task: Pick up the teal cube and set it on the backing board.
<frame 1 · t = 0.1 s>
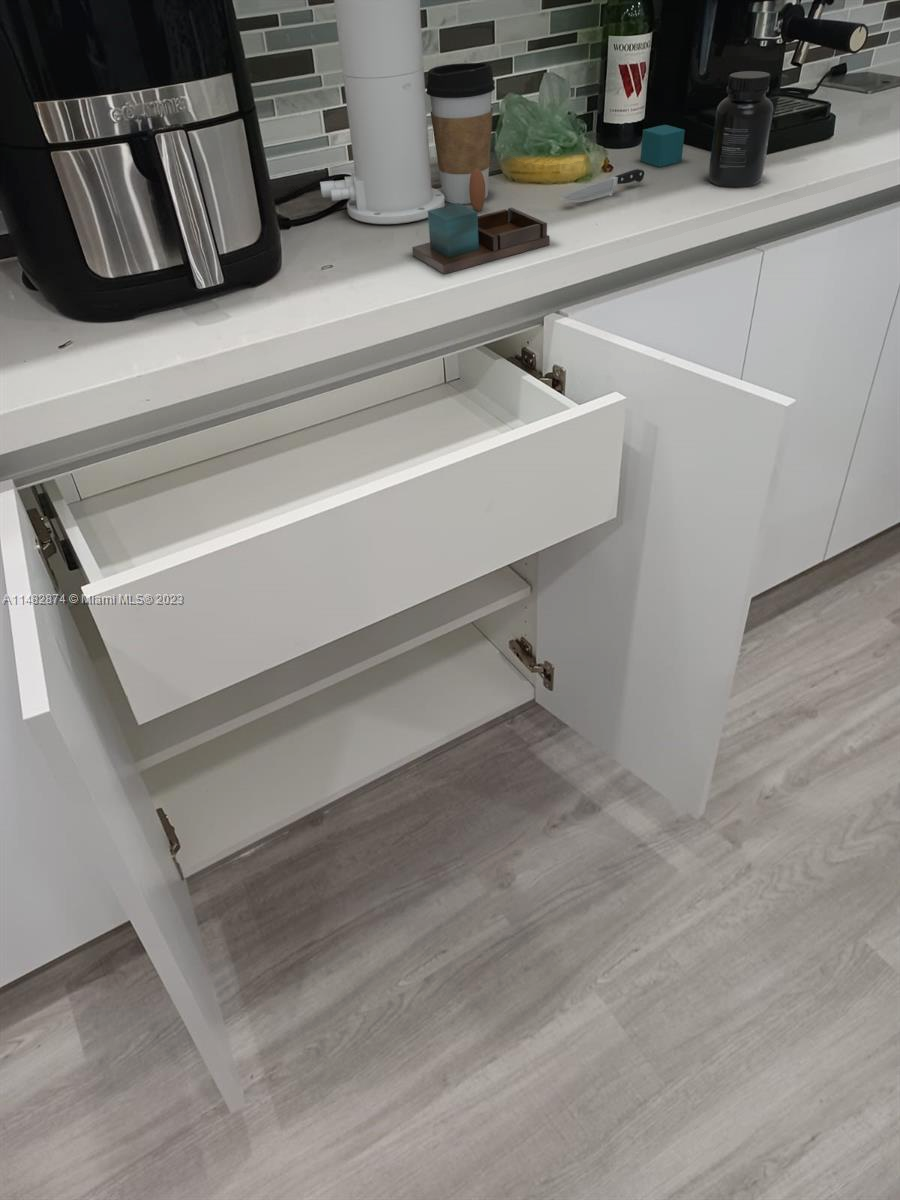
knife: (601, 199, 111), on the worktop
teal cube: (660, 161, 121), on the worktop
coffee cup: (465, 198, 114), on the worktop
backing board: (481, 250, 99), on the worktop
supplement bottle: (734, 182, 113), on the worktop
orange ellipsoid: (478, 212, 110), on the worktop
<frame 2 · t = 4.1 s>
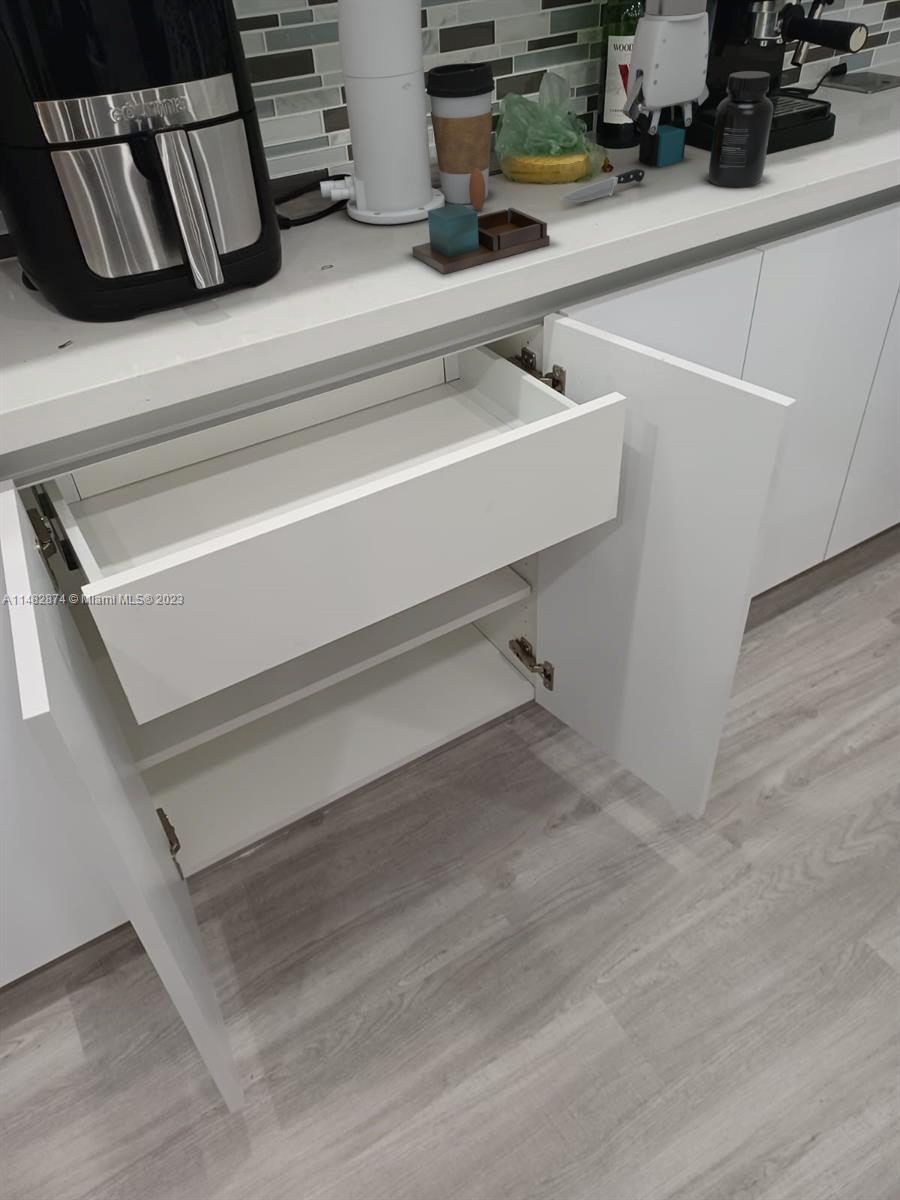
hand: (661, 159, 121), 0 cm above the worktop, tool pointing down, fingers closed on teal cube, 4 cm apart
teal cube: (660, 161, 121), on the worktop, touching gripper
everything else where it was.
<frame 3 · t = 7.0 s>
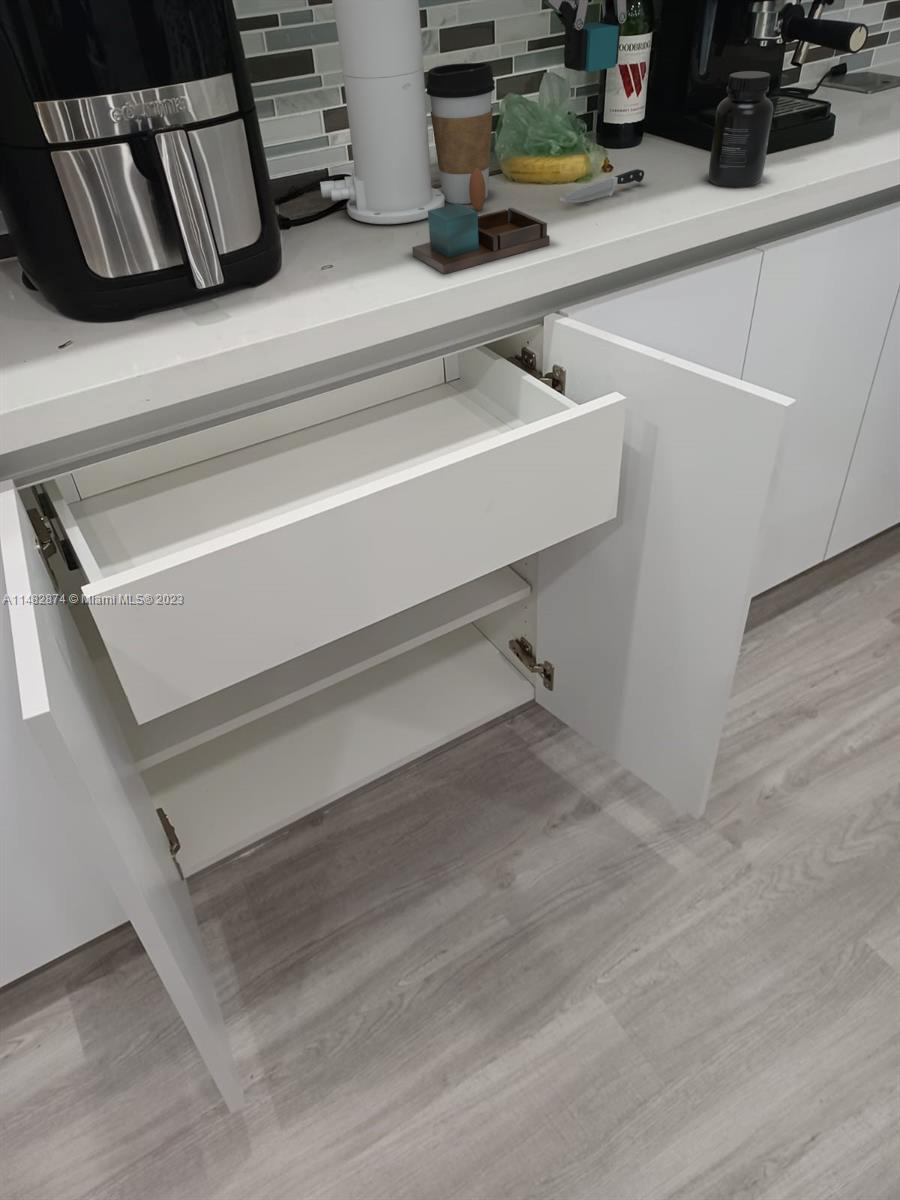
hand: (590, 64, 101), 15 cm above the worktop, tool pointing down, fingers closed on teal cube, 4 cm apart
teal cube: (591, 67, 101), point 15 cm above the worktop, touching gripper
everything else where it was.
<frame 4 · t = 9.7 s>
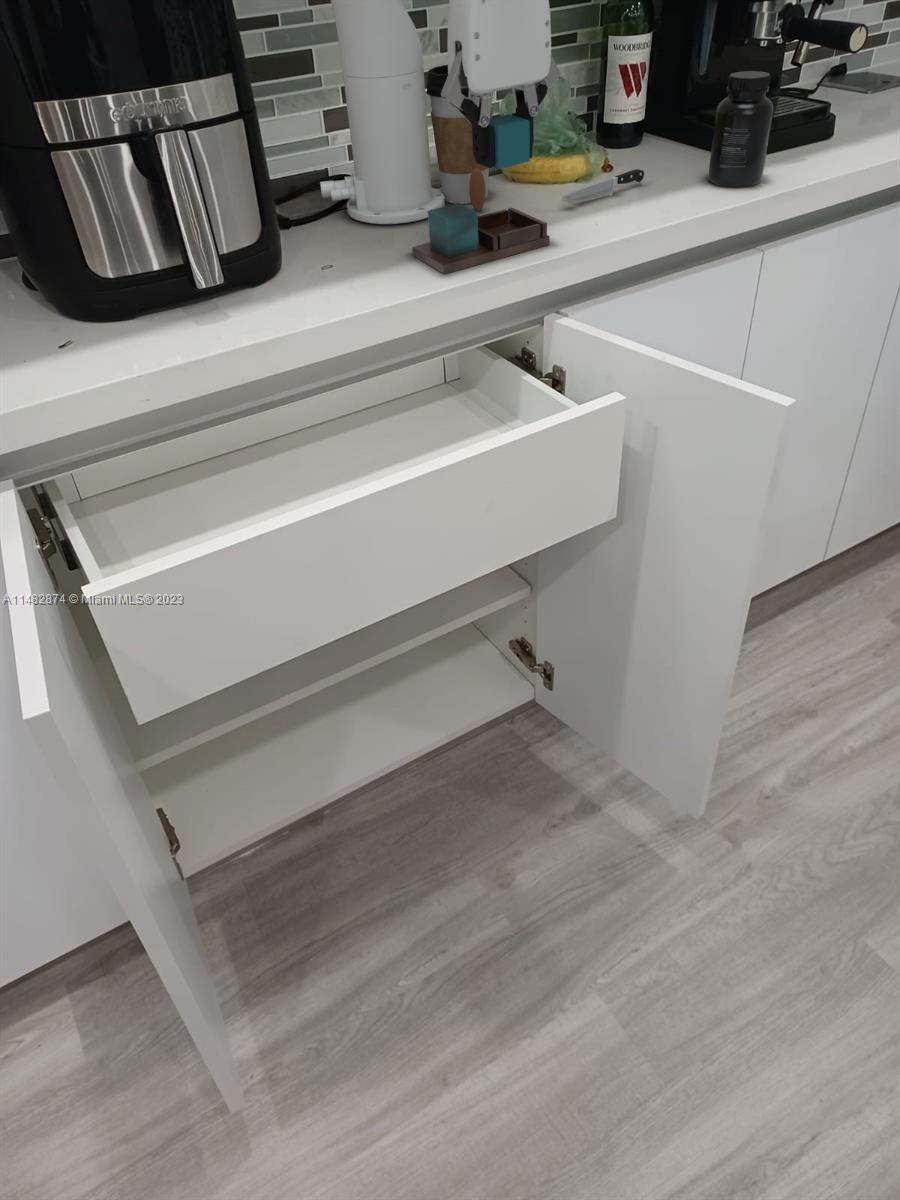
hand: (503, 158, 94), 9 cm above the worktop, tool pointing down, fingers closed on teal cube, 4 cm apart
teal cube: (504, 161, 94), point 9 cm above the worktop, touching gripper
everything else where it was.
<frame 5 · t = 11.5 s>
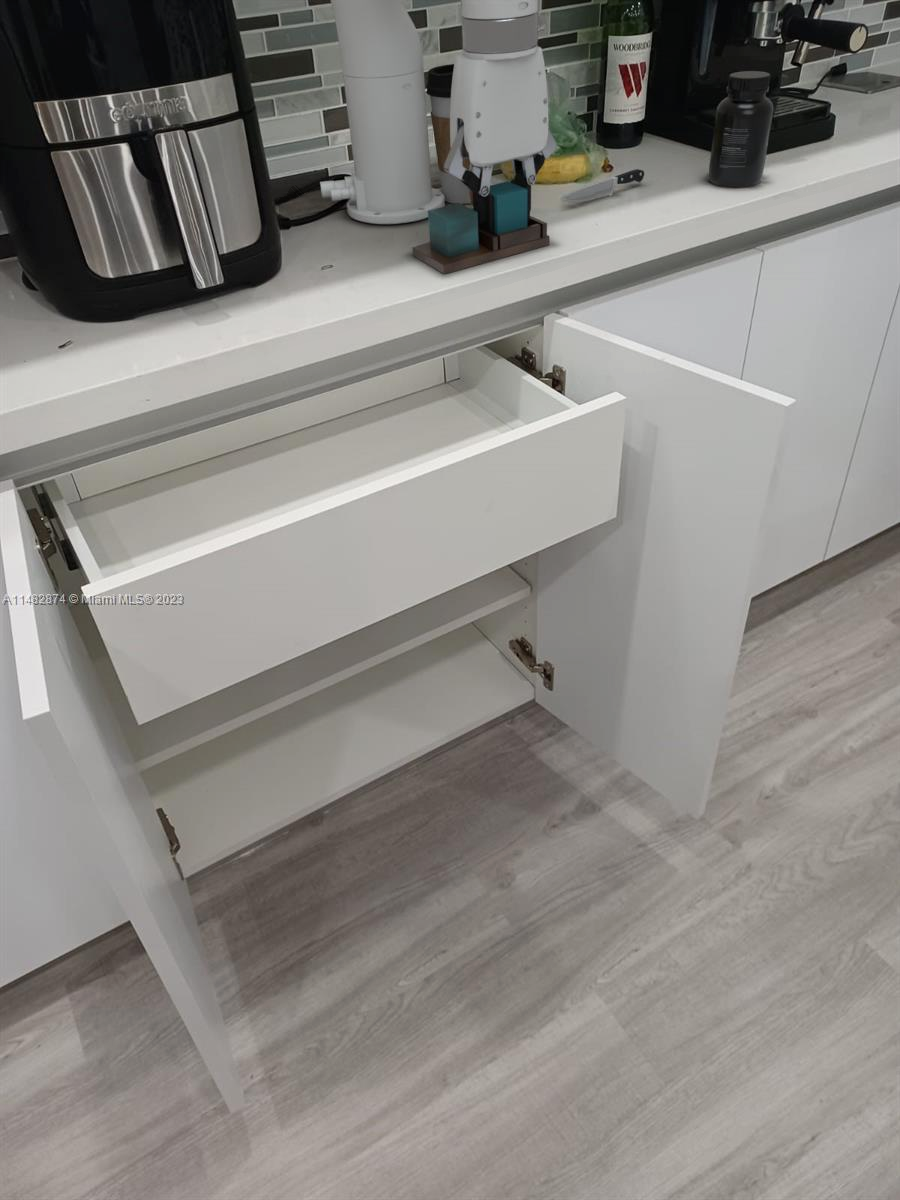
hand: (502, 223, 99), 2 cm above the worktop, tool pointing down, fingers closed on teal cube, 4 cm apart
teal cube: (503, 226, 99), point 2 cm above the worktop, touching gripper
everything else where it was.
when the fingers open (3 cm above the worktop, at t = 15.6 s): teal cube drops 2 cm, resting on backing board.
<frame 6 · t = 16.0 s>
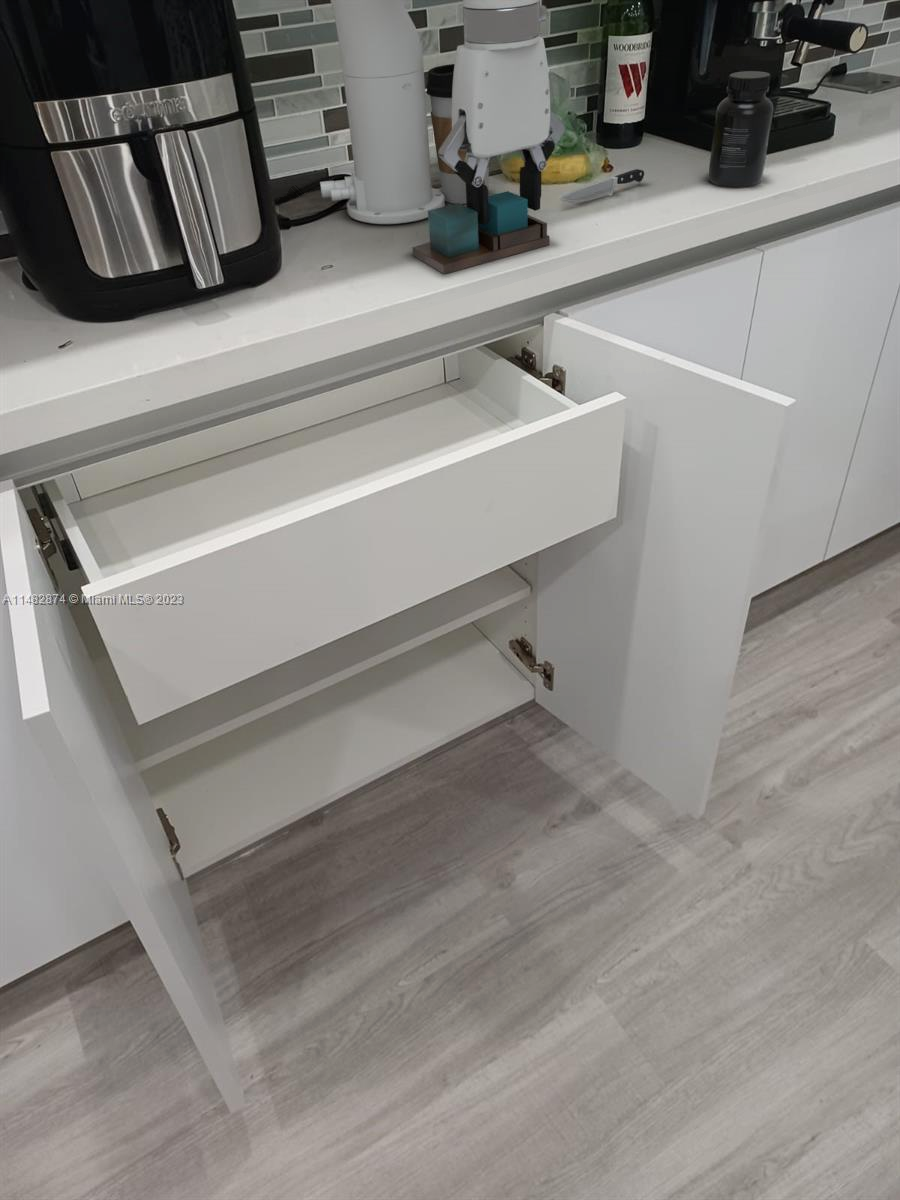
hand: (504, 212, 98), 3 cm above the worktop, tool pointing down, fingers open, 6 cm apart
teal cube: (503, 235, 100), point 1 cm above the worktop, touching backing board
everything else where it was.
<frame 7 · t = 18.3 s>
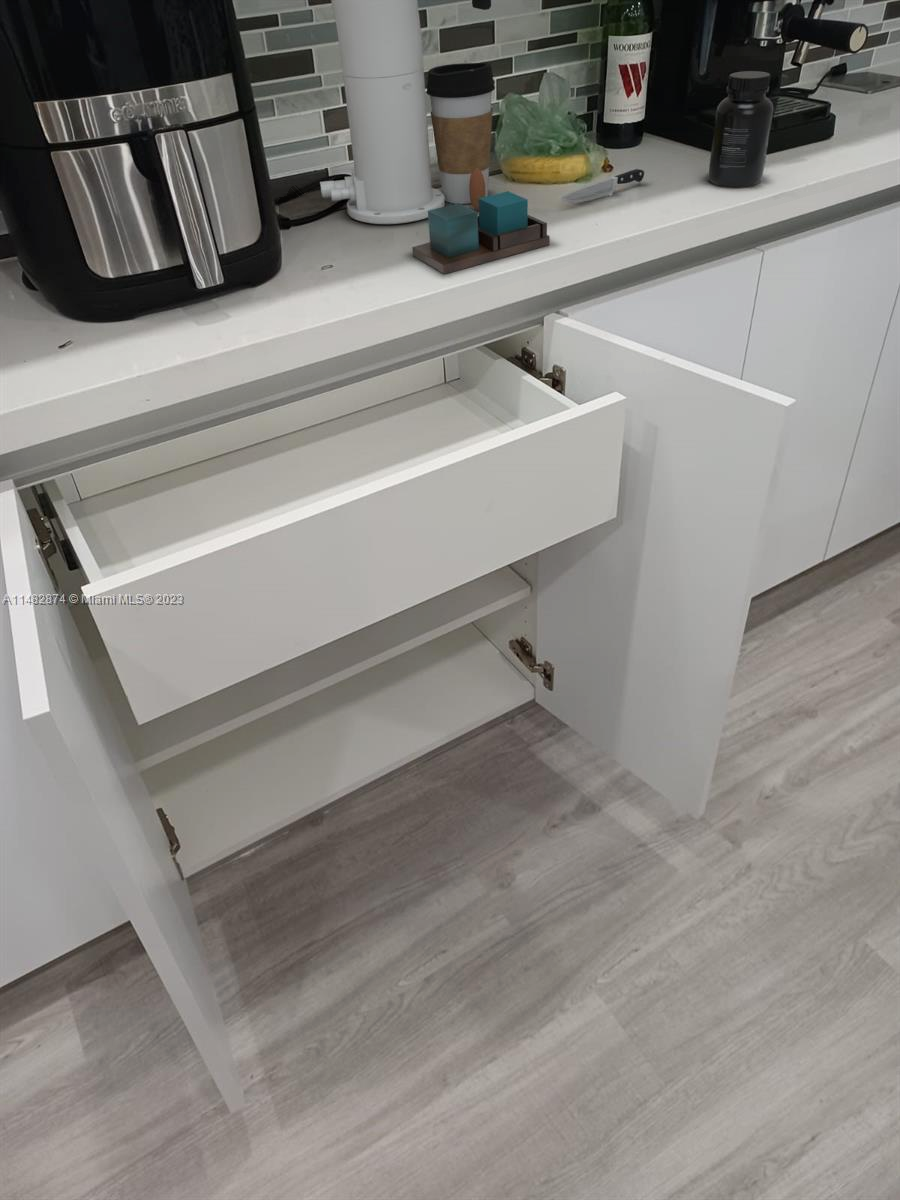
hand: (520, 2, 96), 21 cm above the worktop, tool pointing down, fingers open, 9 cm apart
nothing on the worktop moved.
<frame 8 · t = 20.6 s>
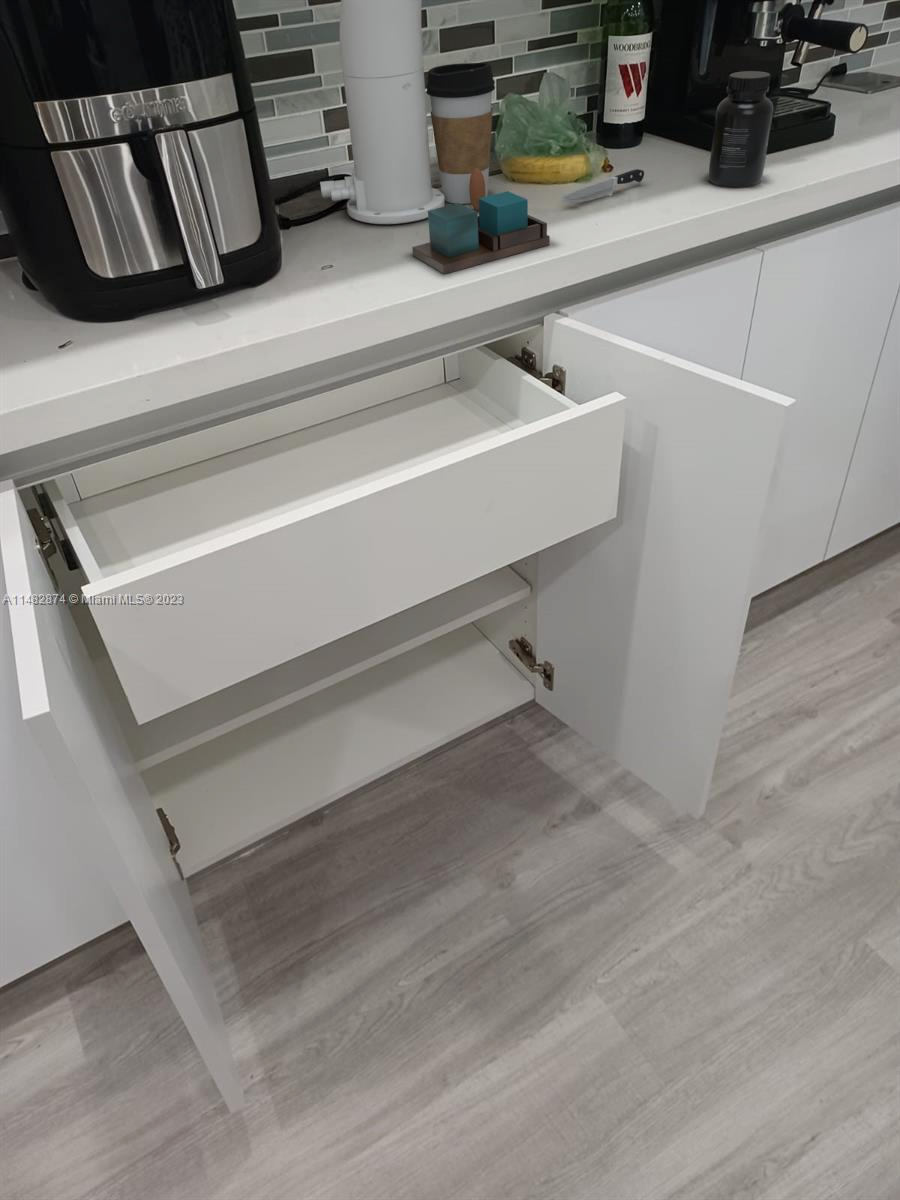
nothing on the worktop moved.
at the end: teal cube 0.0 cm from the target spot on the backing board, point 1.0 cm above the backing board's base; teal cube tilted 0° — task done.
